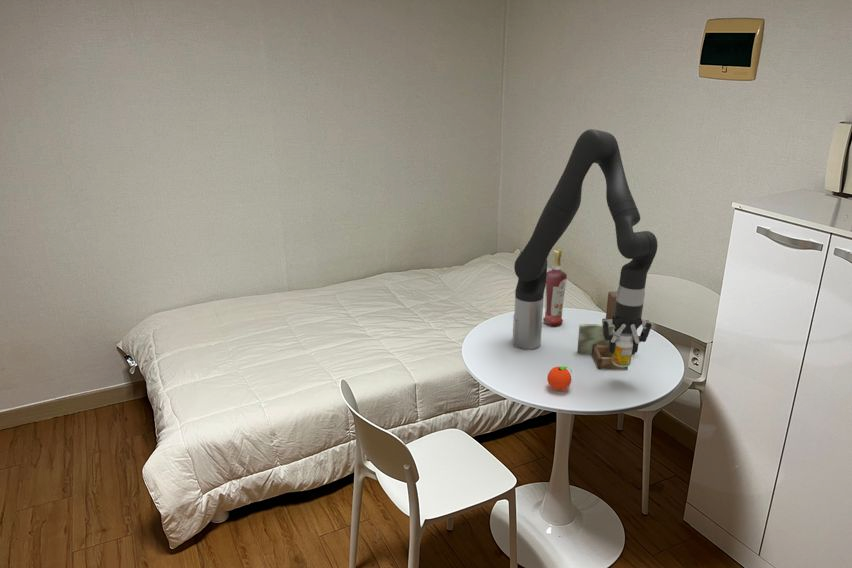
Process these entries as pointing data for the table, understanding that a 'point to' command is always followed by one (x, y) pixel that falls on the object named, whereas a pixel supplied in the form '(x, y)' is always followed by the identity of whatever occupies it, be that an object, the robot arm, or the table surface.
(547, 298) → the liquor
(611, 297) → the wooden block
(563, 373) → the clementine
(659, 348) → the table surface
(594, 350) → the board
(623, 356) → the supplement bottle
